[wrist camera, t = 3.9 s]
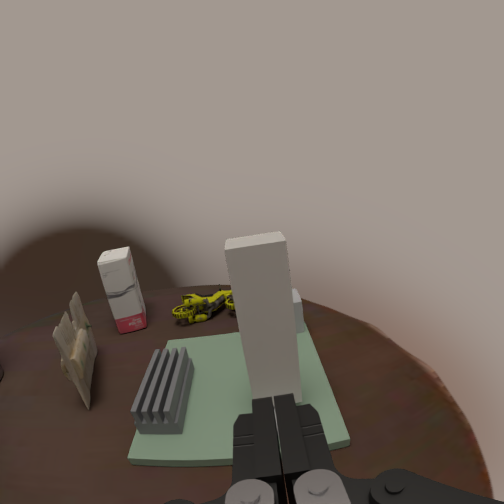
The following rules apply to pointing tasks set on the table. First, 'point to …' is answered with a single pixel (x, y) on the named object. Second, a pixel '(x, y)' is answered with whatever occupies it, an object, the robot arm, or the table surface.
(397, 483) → the robot arm
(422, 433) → the table surface
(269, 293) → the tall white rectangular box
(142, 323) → the ink box
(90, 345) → the comb
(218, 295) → the toy motorcycle
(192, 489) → the table surface
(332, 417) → the base
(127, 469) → the table surface
